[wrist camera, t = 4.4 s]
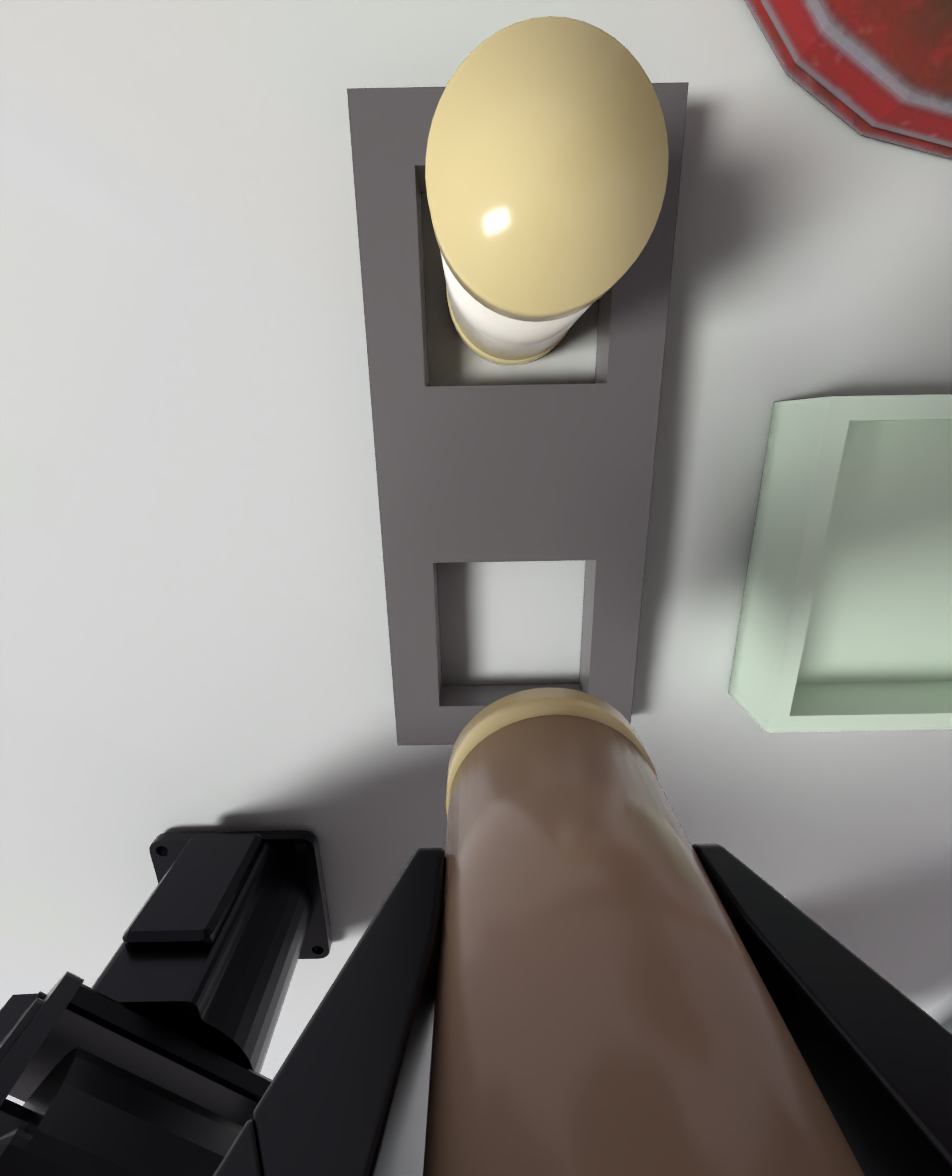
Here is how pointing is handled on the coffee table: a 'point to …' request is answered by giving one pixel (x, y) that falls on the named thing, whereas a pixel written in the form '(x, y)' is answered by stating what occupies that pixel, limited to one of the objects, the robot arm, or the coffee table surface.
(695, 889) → the fuse
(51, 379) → the coffee table surface
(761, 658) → the parts tray
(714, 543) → the coffee table surface
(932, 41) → the hourglass
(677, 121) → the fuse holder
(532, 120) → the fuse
